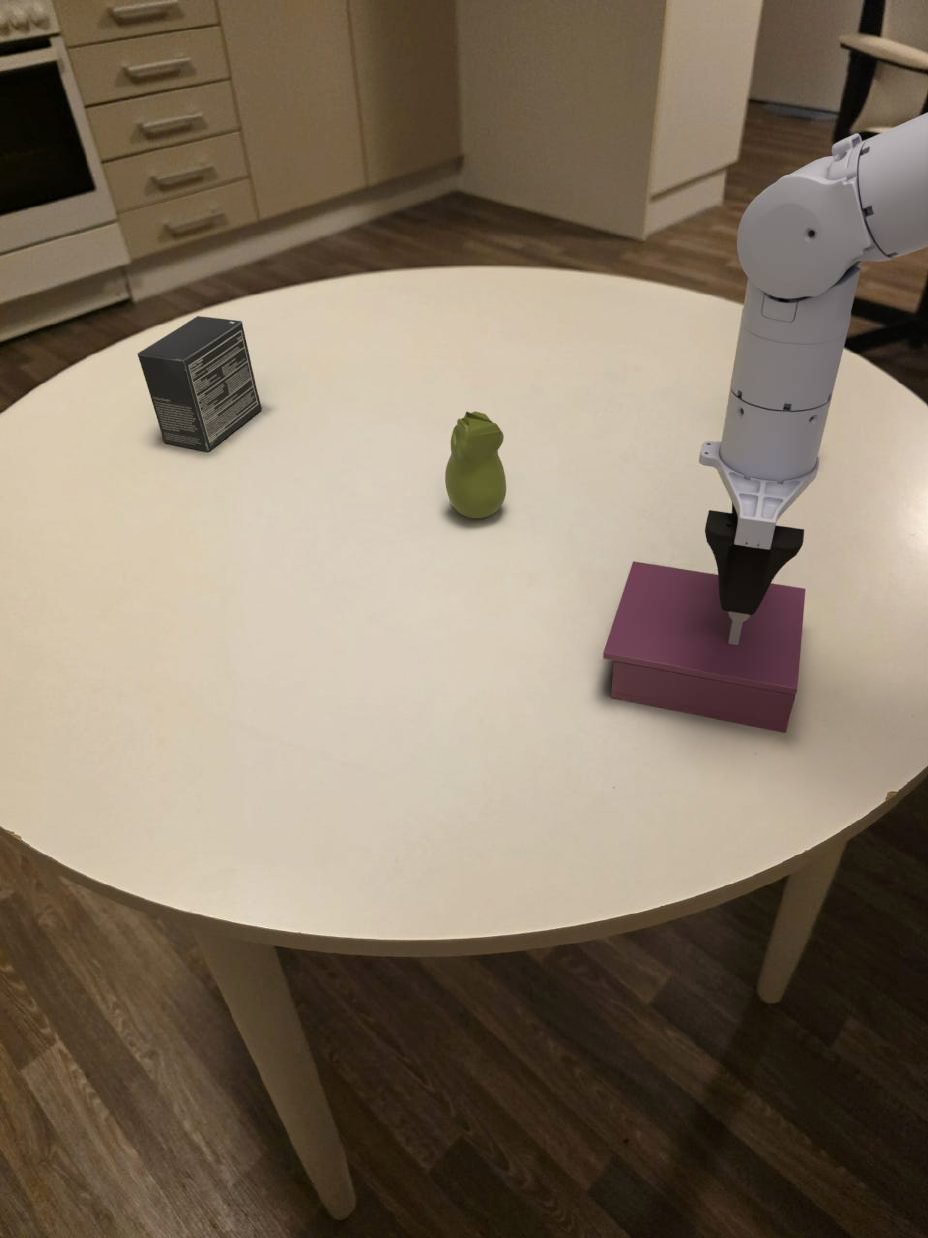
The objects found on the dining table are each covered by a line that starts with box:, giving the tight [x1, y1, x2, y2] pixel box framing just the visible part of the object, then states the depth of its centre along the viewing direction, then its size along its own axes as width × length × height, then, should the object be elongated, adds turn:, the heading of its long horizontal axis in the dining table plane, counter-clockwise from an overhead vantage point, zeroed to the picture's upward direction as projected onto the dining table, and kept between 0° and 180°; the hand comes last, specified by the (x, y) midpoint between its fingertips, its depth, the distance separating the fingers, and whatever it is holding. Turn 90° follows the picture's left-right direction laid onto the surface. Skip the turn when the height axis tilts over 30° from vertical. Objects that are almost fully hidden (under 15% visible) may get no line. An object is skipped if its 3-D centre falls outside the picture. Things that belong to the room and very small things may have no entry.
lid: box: [602, 560, 806, 695], centre depth 64 cm, size 13×11×4 cm
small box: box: [137, 315, 263, 452], centre depth 97 cm, size 11×6×10 cm, turn 156°
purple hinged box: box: [610, 660, 797, 733], centre depth 67 cm, size 12×11×4 cm
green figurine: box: [444, 411, 507, 519], centre depth 82 cm, size 6×5×10 cm
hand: (743, 575), depth 61 cm, fingers open, 7 cm apart
